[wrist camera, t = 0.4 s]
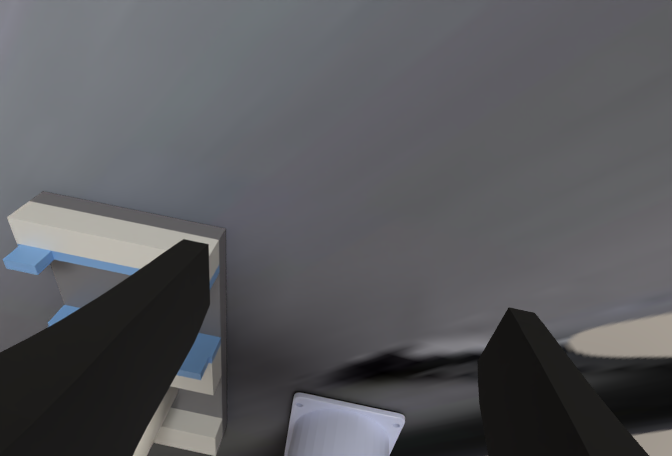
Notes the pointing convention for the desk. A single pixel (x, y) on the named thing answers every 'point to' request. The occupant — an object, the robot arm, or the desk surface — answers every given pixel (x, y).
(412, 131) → the desk surface
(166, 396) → the cream round-ended cylinder
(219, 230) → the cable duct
